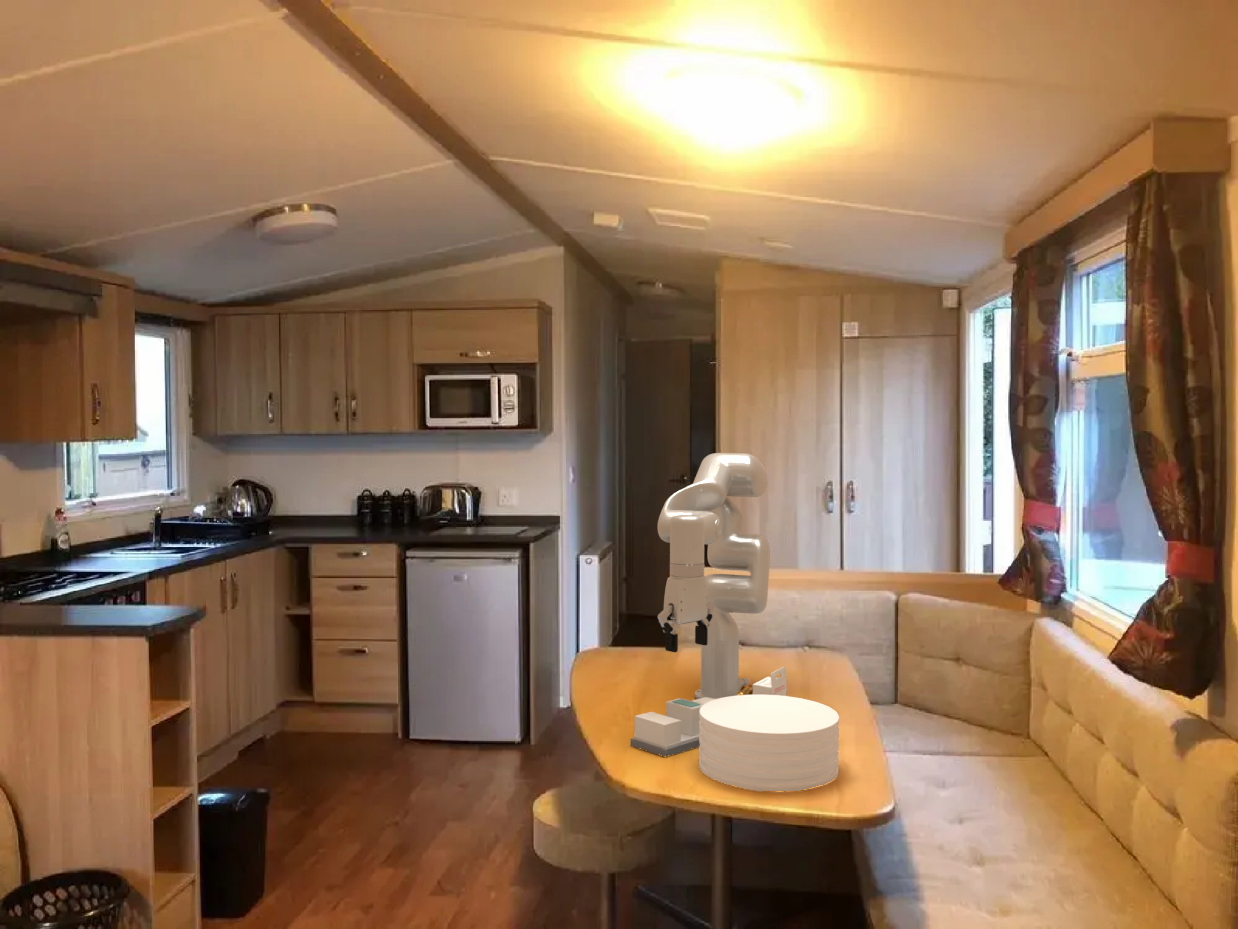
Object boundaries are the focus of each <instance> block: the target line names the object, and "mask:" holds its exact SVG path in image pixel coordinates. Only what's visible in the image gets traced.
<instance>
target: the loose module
mask: <svg viewBox="0 0 1238 929" xmlns="http://www.w3.org/2000/svg"><path fill="white" fill-rule="evenodd" d="M702 706H703V704H700V703H696V702H693V701H692V700H688V699H685V698H681V697H678V698H674V699H672V700H668V701H665V716H668V717H671V718H675V719H678V720H681V733H682V734H686V735H689V736H692V737H693V736H696V735H699V734H700V730H699V722H700V717H699V711H700V708H701V707H702Z"/></svg>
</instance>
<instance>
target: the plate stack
mask: <svg viewBox="0 0 1238 929" xmlns="http://www.w3.org/2000/svg"><path fill="white" fill-rule="evenodd" d="M699 717H700V722H699V730H700V734H699V743H700V746H699V747H698V754H699V756H698V757H699V759H698V767H700V768H699V770H700V769H701V770H700V772H701V771H702V772H701V773H702V774H703V773H705V775H704V776H706V775H707V776H708V777H707V776H706V777H707V778H709V777H710V778H712V779H715V780H717V781H719V782H722V783H725V784H727V785H726V786H728V785H734V786H737V787H741V788H745V789H744V790H746V789H749V790H748V791H753V790H754V791H755V792H762V791H797V792H800V791H799V790H804V789H809V788H812V787H816V786H819V785H824V784H826V783H828V782H830V781H832V780H833V779H835V778H836V777H837V778H838V776H839V761H840V760H839V757H840V756H839V755H840V754H839V749H840V748H839V747H840V743H839V738H840V728H839V726H840V715H839V714H838V712H837V711H836V710H834V708H832V707H830V706H828V705H826V704H825V703H824V704H823V703H821V702H818V701H813V700H810V699H805V698H801V697H797V696H796V697H794V696H788V695H787V696H780V695H753V694H744V695H737V696H729V697H723V698H719V699H715V700H712V701H709V702H707V703H705V704H704V705H703V706H702V707H701V708H700V711H699ZM837 775H838V776H837ZM710 778H709V779H710ZM837 778H836V779H837ZM712 779H711V780H712ZM836 779H835V780H836ZM717 781H716V782H717ZM719 782H718V783H719ZM722 783H721V784H722ZM725 784H724V785H725ZM741 788H740V789H741Z"/></svg>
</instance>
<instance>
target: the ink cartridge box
mask: <svg viewBox="0 0 1238 929" xmlns="http://www.w3.org/2000/svg"><path fill="white" fill-rule="evenodd" d="M778 675H780V676H779V677H777V676H778ZM787 684H788V682H787V670H786V666H785V665H784V666H783V667H780V668H778V669H776V670H774V671H773V672H770V676H766V677H765V678H762V679H761V680H759V681H757V682H755V683H753V684H752V695H780V696H788V695H787V693H788V691H787V689H788V688H787V687H788V686H787Z"/></svg>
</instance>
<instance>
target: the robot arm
mask: <svg viewBox="0 0 1238 929" xmlns="http://www.w3.org/2000/svg"><path fill="white" fill-rule="evenodd" d="M767 473H768V472H767V470H766V468H765V467H764V465H763V463H761V461H760V460H759V459H758V458H757V457H756V456H754V455H752V454H751V453H747V452H746V453H744V452H742V453H741V452H740V453H738V452H717V453H716V452H715V453H714V452H713V453H711V454H708V455H707V456H705V457H704V458H703V459H702V461H701V463H700V465H699V468H698V470H697V472H696V476H695V477H694V480H693V483H691V484H689V485H687V486H685V487H683V488H682V489H679V490H678V491H676V492H674V493H673V494H672V495H670V496H669V497H668V498H667V499H666V501H665V502H664V505H663V507H662V508H661V512H660V514H659V517H658V520H657V534H658V536H659V538H660V540H662V541H663V542H665V543H669V552H670V553H669V577H667V580H666V584H665V589H664V596H663V598H664V599H663V610H661V612H660V613H658V615H657V619H658V623H659V627H660V628H661V629H662V631H663V633H664V634H665V638H664V640H665V641H664V642H665V643H664V644H665V645H664V646H665V647H664V649H665V651H667V652H671V653H678V650H679V647H678V646H679V644H678V643H679V635H678V633H676V632H677V631H678V629H679V627H680V625H686V624H691V623H696V625H695V627H694V628H695V629H694V635H695V636H694V641H695V642H694V644H696V645H700V646H701V647H700V688H699V689H697V690H695V691H694V697H695V699H700V698H704V697H708V698H712V699H719V698H723V697H729V696H737V694H738V692H739V691H741V688H742V687H745V686H748V685H749V684H750V679H749V678H748V677H742V678H739V669H740V668H739V666H740V665H739V660H740V659H739V658H740V656H739V655H740V653H739V650H740V649H739V647H740V640H739V639H740V638H739V636H740V631H739V626H738V624H737V623H736V621H735V619H734V618H733V616H732V615H731V614H733V613H738V614H749V615H751V614H754V615H755V614H756V615H757V614H761V613H763V612H764V611H765V609H766V607H767V604H768V603H767V602H768V596H769V581H770V580H769V579H770V578H769V577H770V564H771V563H770V561H771V549H770V543H769V541H768V539H767V538H766V537H765V536H764V535H761V534H758V533H757V534H756V533H743V524H744V514H743V513H742V510H741V509H740V508H739V506H738V505H737V503H736V502H735V501H734V500H733V499H732V498H731V497H737V498H739V497H741V498H759V497H762V496H763V495H764V494H765V493H766V490H767V487H768V480H769V479H768V474H767ZM705 545H707V562H708V564H709V565H710V567H712V568H714V569H717V570H722V571H725V570H726V571H740V572H749V573H750V575H745V574H727V573H711V574H707V575H705V567H706V565H705Z"/></svg>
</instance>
